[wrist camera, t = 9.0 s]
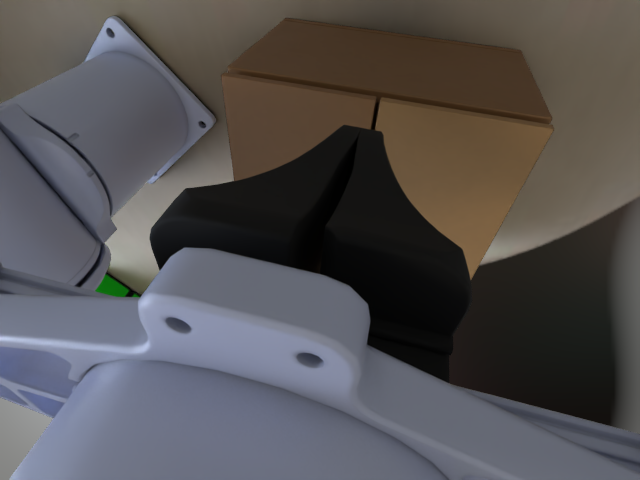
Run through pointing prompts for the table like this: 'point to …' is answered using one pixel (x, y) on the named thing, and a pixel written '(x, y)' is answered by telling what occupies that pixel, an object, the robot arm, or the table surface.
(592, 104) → the table surface
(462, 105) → the carton
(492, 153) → the flap
